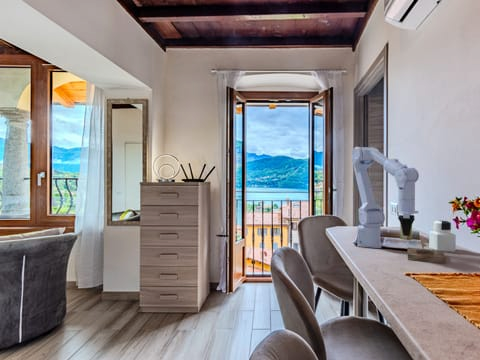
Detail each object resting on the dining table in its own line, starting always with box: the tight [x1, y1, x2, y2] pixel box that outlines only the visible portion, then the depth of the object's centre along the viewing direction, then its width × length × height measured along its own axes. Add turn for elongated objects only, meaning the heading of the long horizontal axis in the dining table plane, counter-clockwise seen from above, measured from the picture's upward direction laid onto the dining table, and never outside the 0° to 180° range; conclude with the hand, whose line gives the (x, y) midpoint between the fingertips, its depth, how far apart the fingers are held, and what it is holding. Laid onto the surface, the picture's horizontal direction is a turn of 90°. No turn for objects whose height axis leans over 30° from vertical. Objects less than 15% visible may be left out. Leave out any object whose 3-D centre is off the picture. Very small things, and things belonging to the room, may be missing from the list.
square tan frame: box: [406, 247, 447, 264], centre depth 124 cm, size 12×12×2 cm
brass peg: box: [399, 223, 413, 241], centre depth 125 cm, size 4×4×7 cm
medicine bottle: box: [428, 220, 457, 253], centre depth 136 cm, size 7×7×12 cm
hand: (406, 234), depth 125 cm, fingers closed on brass peg, 4 cm apart
